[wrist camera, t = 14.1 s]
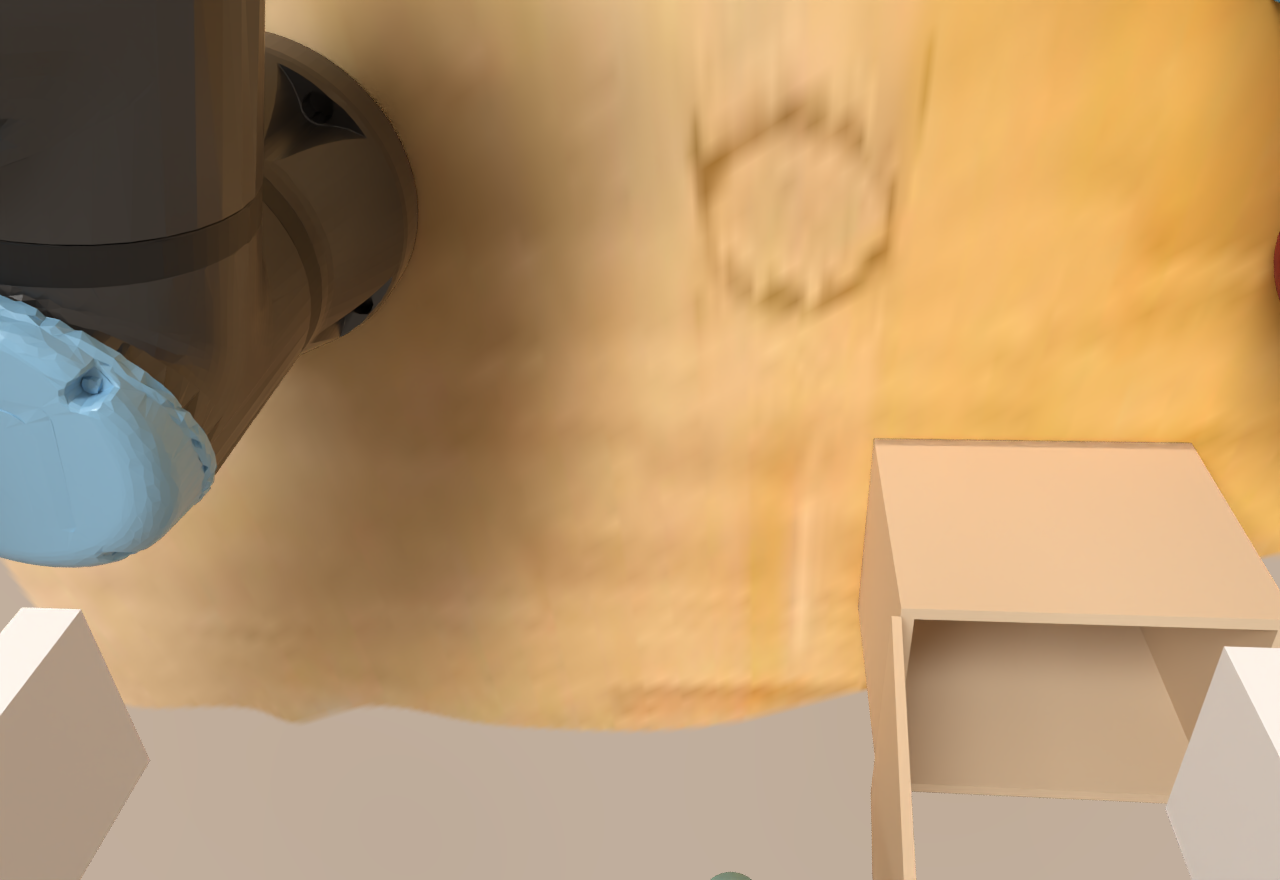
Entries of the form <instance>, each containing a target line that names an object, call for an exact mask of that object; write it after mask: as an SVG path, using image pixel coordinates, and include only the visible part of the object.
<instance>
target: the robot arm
mask: <svg viewBox="0 0 1280 880" xmlns="http://www.w3.org/2000/svg"><path fill="white" fill-rule="evenodd" d="M417 224H418V204H417V194H416V188H415V183H414V178H413V174H412V171H411V167H410V164H409V161H408V159H407V156H406V153H405V151H404V149H403V146H402V144H401V142H400V140H399V138H398V136H397V134H396V132H395V131H394V129H393V127H392V126H391V124H390V122H389V121H388V119H387V118H386V117H385V115H384V114H383V112H382V111H381V109H380V108H379V107H378V106H377V104H376V103H375V102H374V101H373V99H372V98H371V97H370V96H369V95H368V94H367V93H366V92H365V90H364V89H363V88H362V87H361V86H360V85H359V84H357V83H356V82H355V81H354V80H353V79H352V78H351V77H350V76H349V75H348V74H346V73H345V72H344V71H343V70H341V69H340V68H339V67H338V66H336V65H335V64H334V63H332V62H331V61H329V60H328V59H326V58H325V57H323V56H322V55H320V54H318V53H316V52H315V51H313V50H311V49H309V48H307V47H305V46H303V45H301V44H299V43H297V42H295V41H292V40H290V39H287V38H285V37H282V36H279V35H276V34H273V33H269V32H265V0H0V557H1V558H5V559H9V560H13V561H17V562H22V563H27V564H33V565H40V566H49V567H91V566H97V565H103V564H108V563H112V562H116V561H120V560H122V559H125V558H126V557H128V556H129V555H130V554H136V553H137V552H139V551H140V550H144V549H147V548H149V547H150V546H152V545H153V544H154V543H156V542H157V541H158V540H160V539H161V538H162V537H163V536H164V535H165V534H166V533H167V532H168V531H169V530H170V529H171V528H172V527H173V526H174V525H175V524H176V523H177V522H178V521H179V520H180V519H181V518H182V517H183V516H184V515H185V514H186V513H187V512H188V511H189V509H190V508H191V507H192V506H193V505H195V504H196V503H198V502H199V501H201V499H202V498H203V496H204V495H205V494H206V493H207V492H208V491H209V490H210V489H211V488H210V486H211V485H212V484H213V483H214V477H215V474H216V473H217V472H218V470H219V469H220V467H221V466H222V464H223V463H224V462H225V460H226V459H227V457H228V456H229V455H230V453H231V452H232V450H233V449H234V447H235V446H236V445H237V443H238V442H239V440H240V439H241V438H242V436H243V435H244V433H245V432H246V430H247V429H248V428H249V426H250V425H251V423H252V422H253V421H254V419H255V418H256V416H257V415H258V413H259V412H260V411H261V409H262V408H263V406H264V405H265V404H266V402H267V401H268V399H269V398H270V396H271V395H272V394H273V392H274V391H275V389H276V388H277V387H278V385H279V384H280V382H281V381H282V379H283V378H284V377H285V375H286V374H287V372H288V371H289V370H290V368H291V367H292V365H293V364H294V362H295V361H296V359H297V358H298V356H299V355H301V354H303V353H305V352H308V351H310V350H312V349H315V348H317V347H319V346H321V345H324V344H326V343H328V342H331V341H333V340H335V339H337V338H340V337H342V336H344V335H345V334H347V333H349V332H351V331H352V330H354V329H356V328H357V327H359V326H360V325H361V324H362V323H364V322H365V321H366V320H367V319H369V318H370V317H371V316H372V315H373V314H374V313H375V312H376V311H377V310H378V309H379V308H380V307H381V305H382V304H383V303H384V302H385V300H386V299H387V297H388V296H389V295H390V293H391V292H392V290H393V288H394V287H395V285H396V284H397V282H398V281H399V279H400V277H401V276H402V274H403V272H404V271H405V269H406V266H407V264H408V262H409V260H410V257H411V254H412V251H413V247H414V244H415V239H416V234H417ZM149 761H150V759H149V757H148V755H147V753H146V751H145V749H144V746H143V744H142V742H141V740H140V738H139V735H138V733H137V731H136V729H135V727H134V724H133V722H132V720H131V718H130V716H129V714H128V711H127V709H126V707H125V705H124V702H123V700H122V698H121V696H120V694H119V692H118V689H117V687H116V685H115V683H114V681H113V678H112V676H111V674H110V672H109V670H108V667H107V665H106V663H105V661H104V659H103V656H102V654H101V652H100V650H99V648H98V645H97V643H96V641H95V639H94V637H93V635H92V632H91V630H90V628H89V626H88V624H87V621H86V619H85V617H84V615H83V613H82V610H81V609H52V608H21V609H20V610H19V611H18V612H17V614H16V615H15V616H14V617H13V619H12V620H11V621H10V622H9V623H8V625H7V626H6V627H5V628H4V629H3V631H2V632H1V633H0V880H80V879H81V878H82V876H83V874H84V873H85V871H86V869H87V867H88V866H89V864H90V862H91V861H92V859H93V857H94V855H95V854H96V852H97V850H98V849H99V847H100V845H101V844H102V842H103V840H104V838H105V837H106V835H107V833H108V831H109V830H110V828H111V826H112V824H113V823H114V821H115V819H116V818H117V816H118V814H119V813H120V811H121V809H122V807H123V806H124V804H125V802H126V800H127V799H128V797H129V795H130V794H131V792H132V790H133V789H134V787H135V785H136V784H137V782H138V780H139V778H140V777H141V775H142V773H143V772H144V770H145V768H146V767H147V765H148V763H149ZM1165 810H1166V812H1167V815H1168V818H1169V820H1170V823H1171V826H1172V828H1173V831H1174V834H1175V836H1176V839H1177V841H1178V844H1179V847H1180V850H1181V852H1182V855H1183V858H1184V860H1185V863H1186V866H1187V868H1188V871H1189V874H1190V876H1191V879H1192V880H1280V648H1258V647H1227V646H1224V648H1223V650H1222V653H1221V656H1220V659H1219V661H1218V664H1217V667H1216V670H1215V672H1214V675H1213V678H1212V681H1211V684H1210V686H1209V689H1208V692H1207V695H1206V697H1205V700H1204V703H1203V706H1202V708H1201V711H1200V714H1199V717H1198V719H1197V722H1196V725H1195V728H1194V730H1193V733H1192V736H1191V739H1190V741H1189V744H1188V747H1187V750H1186V752H1185V755H1184V758H1183V761H1182V763H1181V766H1180V769H1179V772H1178V774H1177V777H1176V780H1175V783H1174V785H1173V788H1172V791H1171V794H1170V797H1169V799H1168V802H1167V805H1166V808H1165Z"/></svg>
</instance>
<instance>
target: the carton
mask: <svg viewBox="0 0 1280 880" xmlns="http://www.w3.org/2000/svg"><path fill="white" fill-rule="evenodd" d="M858 611H859V620H860V629H861V637H862V646H863V655H864V664H865V673H866V682H867V691H868V699H869V707H870V717H871V726H872V735H873V744H874V752H875V753H876V745H877V736H878V728H879V719H880V711H881V702H882V694H883V686H884V677H885V669H886V660H887V652H888V643H889V635H890V626H891V618H892V616H898V617H901V619H902V637H903V655H904V672H905V690H906V708H907V725H908V743H909V761H910V778H911V792H932V793H955V794H975V795H997V796H1018V797H1039V798H1060V799H1081V800H1103V801H1125V802H1146V803H1167V802H1168V799H1169V797H1170V794H1171V791H1172V788H1173V785H1174V783H1175V780H1176V777H1177V774H1178V772H1179V769H1180V766H1181V763H1182V761H1183V758H1184V755H1185V752H1186V750H1187V747H1188V744H1189V741H1190V739H1191V736H1192V733H1193V730H1194V728H1195V725H1196V722H1197V719H1198V717H1199V714H1200V711H1201V708H1202V706H1203V703H1204V700H1205V697H1206V695H1207V692H1208V689H1209V686H1210V684H1211V681H1212V678H1213V675H1214V672H1215V670H1216V667H1217V664H1218V661H1219V659H1220V656H1221V653H1222V650H1223V648H1224V646H1227V647H1258V648H1280V590H1279V588H1278V587H1277V585H1276V583H1275V582H1274V580H1273V578H1272V577H1271V575H1270V573H1269V572H1268V570H1267V568H1266V567H1265V565H1264V563H1263V562H1262V560H1261V558H1260V557H1259V555H1258V553H1257V552H1256V550H1255V548H1254V547H1253V545H1252V543H1251V542H1250V540H1249V538H1248V537H1247V535H1246V533H1245V532H1244V530H1243V528H1242V527H1241V525H1240V523H1239V522H1238V520H1237V518H1236V517H1235V515H1234V513H1233V512H1232V510H1231V508H1230V507H1229V505H1228V503H1227V501H1226V500H1225V498H1224V496H1223V495H1222V493H1221V491H1220V490H1219V488H1218V486H1217V485H1216V483H1215V481H1214V480H1213V478H1212V476H1211V475H1210V473H1209V471H1208V470H1207V468H1206V466H1205V465H1204V463H1203V461H1202V460H1201V458H1200V456H1199V455H1198V453H1197V451H1196V450H1195V448H1194V446H1193V445H1192V443H1149V442H1077V441H1006V440H934V439H874V444H873V454H872V465H871V476H870V486H869V497H868V507H867V518H866V529H865V539H864V550H863V561H862V571H861V582H860V592H859V603H858Z"/></svg>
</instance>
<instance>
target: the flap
mask: <svg viewBox="0 0 1280 880" xmlns="http://www.w3.org/2000/svg"><path fill="white" fill-rule="evenodd" d="M912 815H913V814H912V796H911V778H910V761H909V743H908V725H907V708H906V690H905V672H904V655H903V637H902V619H901V617H898V616H892V618H891V626H890V635H889V643H888V652H887V660H886V669H885V677H884V686H883V694H882V702H881V711H880V719H879V728H878V736H877V745H876V753H875V761H874V770H873V778H872V787H871V822H872V874H873V880H916V869H915V868H916V867H915V849H914V832H913V816H912ZM711 880H751V879H750V878H749V877H747V876H745V875H743V874H740V873H735V872H726V873H722V874H719V875H717V876H715V877H713V878H712V879H711Z"/></svg>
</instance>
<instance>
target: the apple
mask: <svg viewBox="0 0 1280 880" xmlns="http://www.w3.org/2000/svg"><path fill="white" fill-rule="evenodd" d="M1274 278H1275V284H1276V290H1277V293H1278V297H1279V300H1280V233H1279V235H1278V238H1277V242H1276V247H1275V253H1274Z"/></svg>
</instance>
